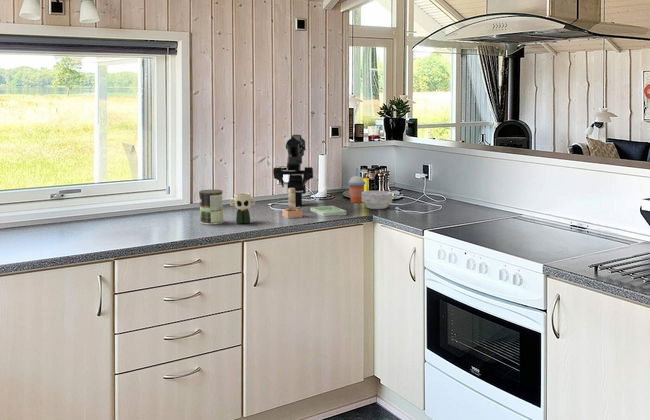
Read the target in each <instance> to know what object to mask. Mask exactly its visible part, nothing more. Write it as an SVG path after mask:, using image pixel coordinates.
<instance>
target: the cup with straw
mask: <svg viewBox="0 0 650 420" xmlns="http://www.w3.org/2000/svg"><path fill="white" fill-rule="evenodd" d="M358 170H359V169H358V167H355V175H353V176H352V177H350V179H349V181H347V184H348V187H349V188H348V190H349V198H350V203H352V204H360V203H363V202H362V192H364V191H365V185H366V181H365V180H364V178H363V177H362V176H360V175H359V174H358Z"/></svg>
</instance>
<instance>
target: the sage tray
mask: <svg viewBox="0 0 650 420" xmlns="http://www.w3.org/2000/svg"><path fill="white" fill-rule="evenodd" d="M309 209H310V212H312V213H315V214H318V215H320V216H322V217H327V216H329V217H331V216H340V217H342V216H347V210H346V209H342V208H340V207H337V206H334V205H325V206H324V205H323V206H312V207H311V206H310V208H309Z"/></svg>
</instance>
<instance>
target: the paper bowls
mask: <svg viewBox="0 0 650 420" xmlns="http://www.w3.org/2000/svg"><path fill="white" fill-rule="evenodd" d="M361 203H364V204H365V207H366V208H368V209H371V210H384V209H387V208H388V207H389V206H390V205H389V204H392V203H393V192H392V191H387V190H364V192H362V202H361Z"/></svg>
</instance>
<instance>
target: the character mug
mask: <svg viewBox="0 0 650 420" xmlns="http://www.w3.org/2000/svg"><path fill="white" fill-rule="evenodd" d="M233 196H234V197H231V198H229V205H230V207H231V206H232V207H233V206H234V208H235V210H236V209H237V211H236V218H235V219H236V220H235V221H236V223H237V224H243V223H244V224H248V223H250V222H251V215H250V210H249V209H251V206H255V205H256V198H255V197H251V193H248V192H238V193H234V194H233ZM233 201H234V202H233ZM251 201H252V202H251Z"/></svg>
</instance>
